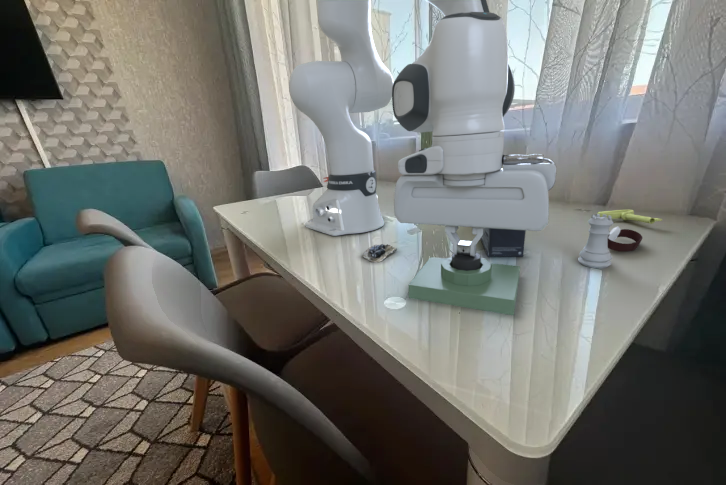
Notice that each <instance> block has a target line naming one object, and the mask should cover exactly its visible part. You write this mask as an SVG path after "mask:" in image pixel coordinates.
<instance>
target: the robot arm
mask: <svg viewBox="0 0 726 485" xmlns="http://www.w3.org/2000/svg"><path fill="white" fill-rule="evenodd" d="M425 1H426V2H427V3H429V4H431V5H432V6H434V7H435V8H436V9H437V10H439V12H441V13H442V15H443V17H442V18H440V19H439V20H437V22H436V23H435V25H434V28H433V31H432V37H431V39H430V41H429V43H428V45H427V46H426V48H425V49H424V51H422V53H421V54H420V55H419V56H418V57H417V58H416V60H414V61H413V62H412V63H408V64H407V65H406V66H404V67H403V68H402V69H401V71H400V72H399V73H398V75H397V76H396V77H395V79H394V78H393V75H392V73H391V71H390V70H389V68H388V67H387V66H386V65H385V64H384V63H383V61H382V60H381V58H380V55H379V53H378V51H377V48H376V45H375V41H374V38H373V37H374V36H373V31H372V0H317V21H318V22H317V23H318V25H319V27H320V30H321V31H322V33H323V34H324V36H325V37H327V38H328V39H329V40H331V41H332V42H333V43H335V45H336V46H337V48H338V50H339V53H340V59H341V61H340V60H336V61H335V60H313V61H309V62H305V63H300V64H297V65H296V66H295V67H294V68H293V70H292V72H291V74H290V77H289V82H288V92H289V95H290V99H291V101H292V103H293V104H294V106H295V107H296V108H297V110H299V112H301V113H302V114H304V115H305V116H307V117H308V118H309V119H310V120H311V121H312V122H313V124H314V125H315V126H316V128H317V129H318V131H319V133H320V134H321V136H322V139H323V141H324V144H325V148H326V154H327V159H328V166H329V175H328V176H326V177H323V178H322V179H323V183H327V184H326V188H327V189H326V190H325V191H324V192H322V194H321V195H320V196H319V197H318V199H317V200H315V202H314V203H313V205H312V209H311V211H312V212H311V213H312V219H309V220H308V221H306V222H305V223H304V226H305V228H307V229H311V230H314V231H316V232H320V233H323V234H326V235H329V236H332V237H336V236H337V237H338V236H343V235H352V234H362V233H367V232H372V231H375V230H377V229H380V228H381V227H383V226H384V225H385V220H384V219H383V215H382V212H381V208H380V203H379V200H378V194H377V185H378V181H377V172H376V170H375V167H374V155H373V152H374V151H373V142H372V139H371V138H370V136H369V135H368V134H367V133H366V132H365V131H363V130H361V129H359V128H358V127H356V125H355V124H354V122H353V120H352V119H351V116H350V114H359V113H370V112H374V111H377V110H380V109H383V108H385V107H387V106H388V105H389V103H390V102H391V106H392V113H393V116H394V118H395V120H396V121H397V122H398V123H399V125H400V126H401V127H402V128H403V129H404V130H406V131H407V132H412V133H431V132H432V134H431V135H432V136H431V141H432V142H431V145H430V147H425V148H421V149H419V150H418V151H417V152H414V153H412V154H409V155H406V156H404V157H403V158H401V159H399V160H398V162H397V170H398V173H399V174H400V175H401V176H399V178H398V179H397V180H396V182H395V186H394V195H393V196H394V197H393V211H394V212H393V213H394V217H395V218H396V220H397V221H398V222H399V223H400V224H413V225H427V226H429V225H430V226H445V227H444V228H445V230H444V231H445V234H446V236H447V238H448V240H449V241H450V242H451V244H452V254H454V255H464V256H472V257H474V256H475V254H476V253H477V244H479V241H481V239H480V238H481V237H482V236H483V234H484V232H485V228H494V229H511V230H526V231H529V232H540V231H542V230H543V229H545V228H546V227H547V226H548V224H549V217H550V216H549V215H550V214H549V213H550V200H549V199H550V198H549V191H550V190H552V189H553V188H554V186H555V185H556V182H557V175H558V174H557V173H558V167H557V164H556V162H555V161H554V160H553V159H551V158H550V157H546V156H544V154H540V153H533V154H528V155H527V154H504V148H505V147H504V146H505V132H506V131H505V130H506V125H505V122H504V117H505V115H506V114H507V113H508V112H509V109H510V108H511V106H512V104H513V101H514V98H515V93H516V84H515V77H514V74H513V71H512V69H511V67H510V65H509V46H508V45H509V44H508V33H507V29H506V23H505V21H504V19H503V18H502V17H501V16H500V15H498V14H497V13H494V12H490V9H489V6H488V2H487V0H425ZM503 164H504V165H503ZM502 167H503V168H502ZM459 227H460V228H461V227H463V228H471V229H472V230H471V234H472V235H474V237H473V239H472V240H462V239H461V238H460V237H459V235H458V232H457V230H458V229H459Z"/></svg>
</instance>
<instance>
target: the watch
mask: <svg viewBox="0 0 726 485" xmlns="http://www.w3.org/2000/svg"><path fill="white" fill-rule="evenodd" d="M609 231H610V233H609V234H608V249H609V250H612V251H614V252H633V251H636V250H637V248H638V247H639V246H640V244H641V242H642V240H643V235H642V234H641V233H640V232H638V231H636V230H634V229H628V228H620V226H614V227H613V228H611V229H610V230H609ZM617 238H627V239H630V240H633V241H634V242H631V243H621V242H617V241H615V240H616V239H617Z"/></svg>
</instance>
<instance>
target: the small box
mask: <svg viewBox="0 0 726 485" xmlns="http://www.w3.org/2000/svg"><path fill="white" fill-rule="evenodd" d="M526 232H527V230H511V229H494V228H485V232H484V234H483V236H482V237H481V238H480V241H481V243H482V247H483V249H484V251H485V253H486V256H487V257H510V258H511V257H513V258H514V257H524V251H525V240H526V239H525V238H526Z"/></svg>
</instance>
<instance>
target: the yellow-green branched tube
mask: <svg viewBox="0 0 726 485" xmlns="http://www.w3.org/2000/svg"><path fill="white" fill-rule="evenodd" d="M596 214H600V217H603V214H605V215H607V217H606V218H608V216H609V215H610V216H611V217H612V218H611V220H612V219H613V220H615V219H616V220H617V219H622V220H623V221H629V220H630V221H636V222H641V223H646V224H650V225H652V224H654V223H656V222H662V221H663V218H659V217H650V216H644V215H639V214H635V210H633V209H616V210H615V209H614V210H605V211H598V212H597V213H596Z"/></svg>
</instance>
